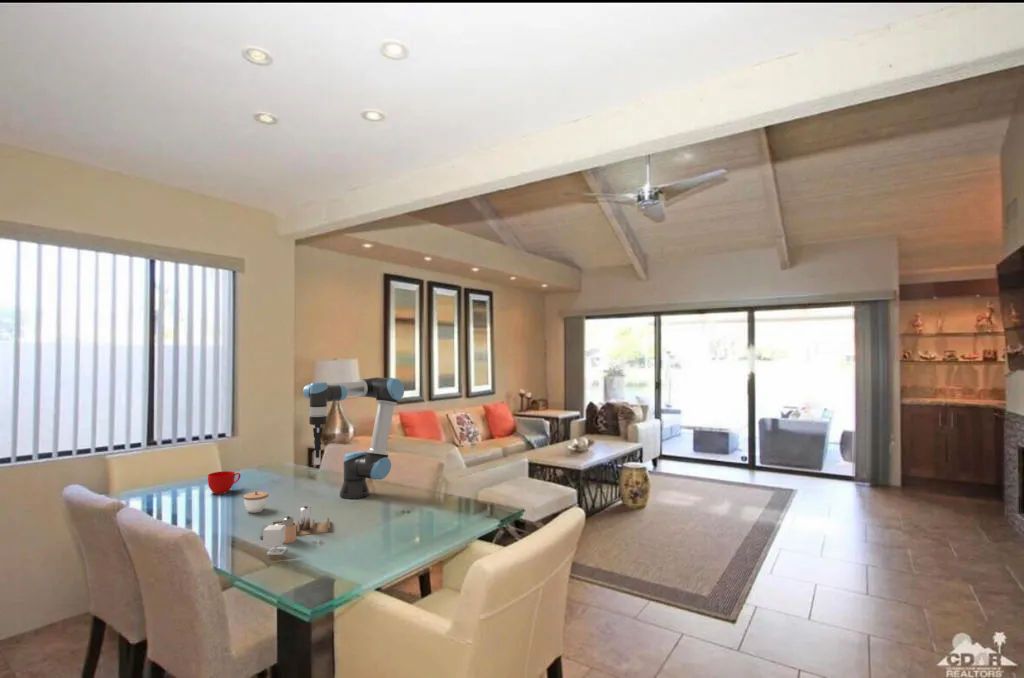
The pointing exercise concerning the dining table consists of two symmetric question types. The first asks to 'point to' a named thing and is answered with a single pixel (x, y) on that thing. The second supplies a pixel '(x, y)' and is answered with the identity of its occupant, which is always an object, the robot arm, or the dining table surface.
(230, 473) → the ceramic cup
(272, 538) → the security camera
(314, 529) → the trough board
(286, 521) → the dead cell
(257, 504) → the lidded jar
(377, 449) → the robot arm
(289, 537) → the octagonal tan cylinder
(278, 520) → the cradle
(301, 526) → the cell
